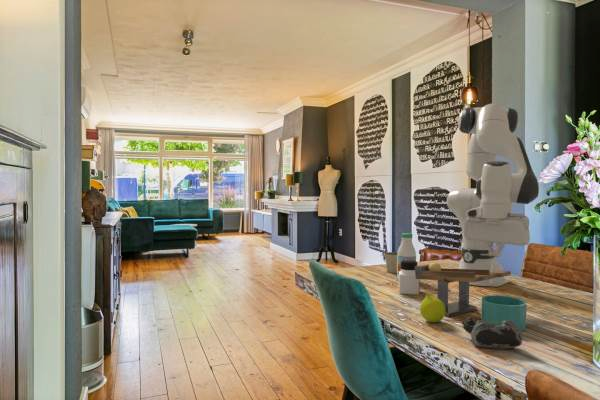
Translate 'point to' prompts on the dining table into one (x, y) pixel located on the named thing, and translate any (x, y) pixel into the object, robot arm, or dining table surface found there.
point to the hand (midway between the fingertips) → (494, 256)
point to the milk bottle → (405, 251)
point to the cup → (504, 310)
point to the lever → (457, 274)
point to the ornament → (432, 308)
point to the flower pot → (391, 261)
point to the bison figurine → (493, 334)
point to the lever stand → (456, 306)
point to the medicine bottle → (408, 278)
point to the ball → (434, 267)
